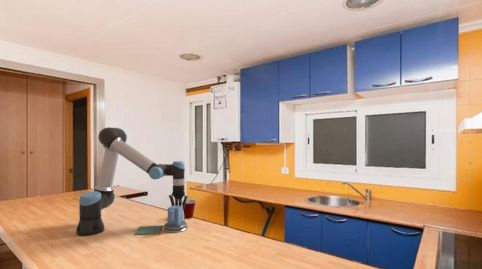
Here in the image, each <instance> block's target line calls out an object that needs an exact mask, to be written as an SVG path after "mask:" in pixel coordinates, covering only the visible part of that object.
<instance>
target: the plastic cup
mask: <svg viewBox="0 0 482 269" xmlns="http://www.w3.org/2000/svg"><path fill="white" fill-rule="evenodd" d="M183 200H184V199H182V204H183ZM196 203H197V200H196V199H192V198H191V199H190V198H187V200H186V204H185V207H184V209H183V215H184V219H191V218H193V217H194V211H195V208H196Z"/></svg>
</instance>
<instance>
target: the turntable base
mask: <svg viewBox="0 0 482 269" xmlns="http://www.w3.org/2000/svg"><path fill="white" fill-rule="evenodd" d="M162 227H163V228H162V231H163V232H164V233H168V234H170V233H171V234H177V233H182V232H185V231H186V230H188V229H189V228H188V225H187V227H186V228H185V229H182V230H177V231H169V230H165V229H164V226H162Z"/></svg>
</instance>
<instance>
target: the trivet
mask: <svg viewBox="0 0 482 269" xmlns="http://www.w3.org/2000/svg"><path fill="white" fill-rule="evenodd" d="M162 227H163V225H141V226H139V227H138V228H137V229H136V231H134V233H133V236H139V235H140V236H142V235H144V236H145V235H159V234H160V232H161V230H162V229H163V228H162Z"/></svg>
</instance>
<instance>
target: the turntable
mask: <svg viewBox="0 0 482 269" xmlns="http://www.w3.org/2000/svg"><path fill="white" fill-rule="evenodd" d="M187 226H188V224H187V222H186V221H185V217H184V214H183V223H181V224H180V225H168V222H166V223H164V224H163V227H164V229H165V230H169V231H177V230H182V229H185V228H186V227H187Z"/></svg>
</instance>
